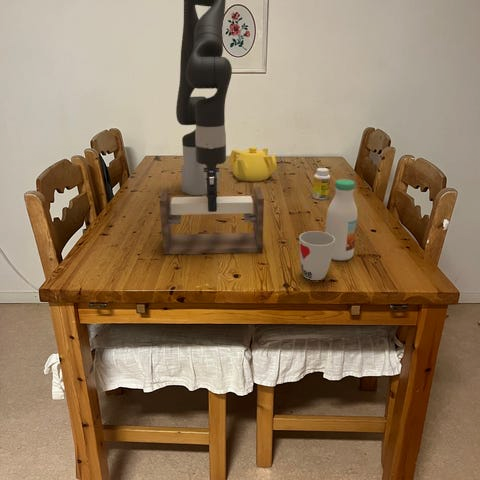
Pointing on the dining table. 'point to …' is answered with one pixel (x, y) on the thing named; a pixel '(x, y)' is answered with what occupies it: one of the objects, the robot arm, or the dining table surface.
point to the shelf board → (201, 205)
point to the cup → (315, 253)
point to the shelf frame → (214, 240)
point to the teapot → (252, 164)
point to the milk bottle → (342, 220)
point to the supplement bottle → (321, 184)
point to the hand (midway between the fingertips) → (212, 207)
